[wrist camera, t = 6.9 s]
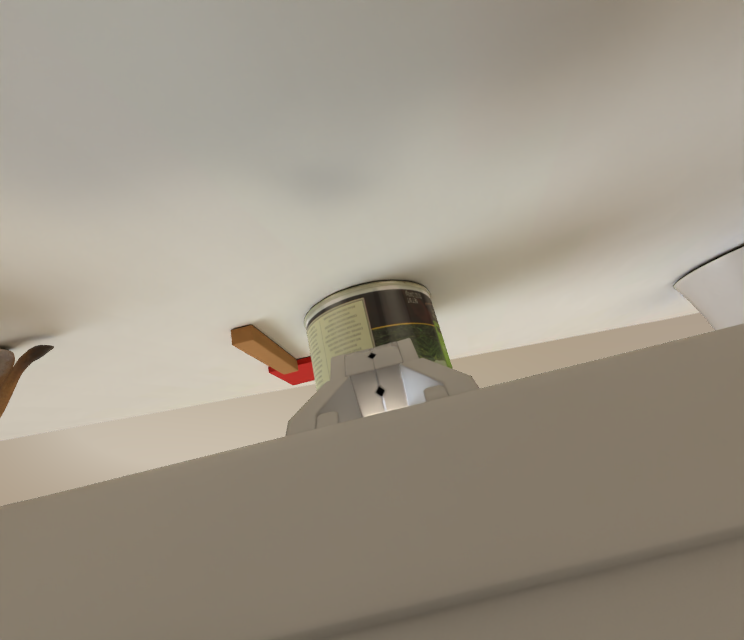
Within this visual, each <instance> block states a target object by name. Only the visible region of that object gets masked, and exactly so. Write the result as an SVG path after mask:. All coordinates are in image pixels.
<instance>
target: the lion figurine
mask: <svg viewBox="0 0 744 640" xmlns="http://www.w3.org/2000/svg"><path fill="white" fill-rule="evenodd" d="M53 348H54V347H53V346H50V345H38V346H35V347H33V348H31V349H29V350H28V351H27V352H26V353H25V354H23V355H22V356H21V357H20V358H19V359H18V361H17V362H16V364H15V365H14V362H15V357H14V354H13V352H11V351H9V350H5V349H0V417H1V416H2V414H3V412H4V410H5V408H6V406H7V404H8V402H9V400H10V398H11V396H12V394H13V391H14V389H15V387H16V385H17V382H18V380H19V378H20V376H21V375H22V373H23V372H24V370H25V369H26V368H27V367H28V366H29V365H30V364H31V363H32V362H33V361H35V360H37V359H39V358H41V357H42V356H44V355H45V354H46V353H47V352H49V351H50V350H52V349H53ZM13 365H14V367H13Z"/></svg>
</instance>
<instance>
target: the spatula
mask: <svg viewBox="0 0 744 640" xmlns="http://www.w3.org/2000/svg"><path fill="white" fill-rule="evenodd" d="M231 337H232V345H233V346H235V347H237V348H238V349H240V350H242V351H244V352H245V353H247V354H249V355H250V356H252V357H254V358H256V359H257V360H259V361H261V362H263V363H264V364H266V365H268V366H270V367H268V369H269V373H271V374H273V375H275V376H277V377H278V378H280V379H282V380H284V381H286V382H288V383H290V384H292V385H296V384H300V383H304V382H308V381H312V380H315V378H314V372H313V366H312V360H311V357H307V358H303V359H299V360H296V359H295V358H294V357H292V356H291V355H290V354H288V353H287V352H286V351H285V350H283V349H282V348H281V347H279V346H278V345H277V344H276V343H274V342H273V341H272V340H270V339H269V338H268V337H267V336H265V335H264V334H263V333H261V332H260V331H259V330H258V329H256V328H255V327H254V326H252V325H249V326H245V327H241V328H237V329H233V330H231Z"/></svg>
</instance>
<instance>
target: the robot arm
mask: <svg viewBox="0 0 744 640" xmlns="http://www.w3.org/2000/svg"><path fill="white" fill-rule="evenodd" d="M674 288H675V289H676V290H677V291H678V292H680V293H681V294H682V295H683V296H684V297H685V298H686V299H687V300H688V301H689V302H690V303H691V304H692V305H693V306H694V307H695V308H696V309H697V310H698V311H699V312H700V313H701V314H702V315H703V316H704V318H705V319H706V320H707V321H708V323H709V324H710V325H711V326H712V327H713V328H714V330H715V331H712V332H708V333H703V334H699V335H696V336H691V337H687V338H683V339H679V340H675V341H671V342H667V343H663V344H659V345H654V346H650V347H646V348H642V349H638V350H634V351H630V352H626V353H622V354H618V355H614V356H610V357H606V358H602V359H598V360H594V361H590V362H586V363H582V364H577V365H573V366H570V367H565V368H561V369H557V370H553V371H549V372H545V373H541V374H537V375H533V376H529V377H525V378H521V379H517V380H513V381H509V382H505V383H500V384H496V385H492V386H488V387H484V388H479V387H478V385H477V384H476V382H475V381H474V379H473V378H472V376H470V375H467V374H464V373H462V372H459V371H457V370H454V369H451V368H449V367H446V366H443V365H441V364H438V363H435V362H433V361H430V360H427V359H425V358H419V357H418V355H417V353H416V350H415V348H414V346H413V343H412V341H411V339H410V338H407V339H403V340H400V341H397V342H392V343H388V344H385V345H381V346H377V347H374V348H369V349H365V350H361V351H356V352H352V353H348V354H342V355H339V356H335V357H332V358H331V370H330V381H327V382H326V383H325V384H324V385H323V386H322V387H321V388H320V389H319V390H318V391H317V392H316V393H315V394H314V395H313V396H312V397H311V398H310V399H309V400H308V402H306V403H305V404H304V405H303V407H301V409H300V410H299V411H298V412H297V413H296V414H295V415H294V416H293V417H292V418H291V419H290V420H289V421H288V425H287V431H286V436H285V437H282V438H277V439H274V440H269V441H265V442H261V443H257V444H253V445H249V446H245V447H241V448H237V449H233V450H229V451H225V452H220V453H216V454H213V455H208V456H204V457H200V458H196V459H192V460H188V461H184V462H180V463H176V464H172V465H168V466H164V467H160V468H156V469H152V470H148V471H144V472H140V473H135V474H132V475H127V476H123V477H119V478H115V479H111V480H107V481H103V482H99V483H95V484H91V485H87V486H83V487H79V488H75V489H71V490H67V491H62V492H59V493H55V494H50V495H46V496H42V497H38V498H34V499H30V500H25V501H21V502H17V503H12V504H7V505H4V506H0V640H744V247H742V248H739V249H737V250H735V251H733V252H730V253H728V254H726V255H724V256H722V257H720V258H718V259H716V260H714V261H712V262H710V263H708V264H706V265H704V266H702V267H700V268H698V269H697V270H695V271H693V272H691V273H690V274H688V275H686V276H685V277H683V278H682V279H681V280H679V281H678V282H677V283H676V284H675V285H674Z"/></svg>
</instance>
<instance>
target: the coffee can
mask: <svg viewBox="0 0 744 640" xmlns="http://www.w3.org/2000/svg"><path fill="white" fill-rule="evenodd" d="M304 325H305V328H306V330H307V336H308V342H309V348H310V354H311V360H312V366H313V372H314V378H315V384H316V389H317V391H318V390H319V389H320V388H321V387H322V386H323V385H324V384H325V383H326V382H327V381H330V370H331V358H332V357H335V356H339V355H342V354H348V353H352V352H356V351H361V350H365V349H369V348H374V347H377V346H381V345H385V344H388V343H392V342H397V341H400V340H403V339H407V338H410V339H411V341H412V343H413V346H414V348H415V350H416V353H417V355H418V357H419V358H425V359H427V360H430V361H433V362H435V363H438V364H441V365H443V366H446V367H449V368H451V369H452V365H451V362H450V359H449V356H448V353H447V349H446V346H445V343H444V340H443V337H442V334H441V331H440V327H439V324H438V321H437V318H436V315H435V312H434V309H433V306H432V302H431V295H430V293H429V291H428V290H427V289H426V288H425V287H424V286H422V285H420V284H417V283H413V282H408V281H394V280H389V281H380V282H372V283H367V284H362V285H359V286H355V287H351V288H348V289H346V290H343V291H340V292H338V293H335V294H333V295H331V296H329V297H327V298H326V299H324V300H322V301H321V302H319V303H318V304H316V305H315V306H314V307H312V308H311V309H310V311H309V312H308V314H307V315H306V317H305V320H304Z"/></svg>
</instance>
